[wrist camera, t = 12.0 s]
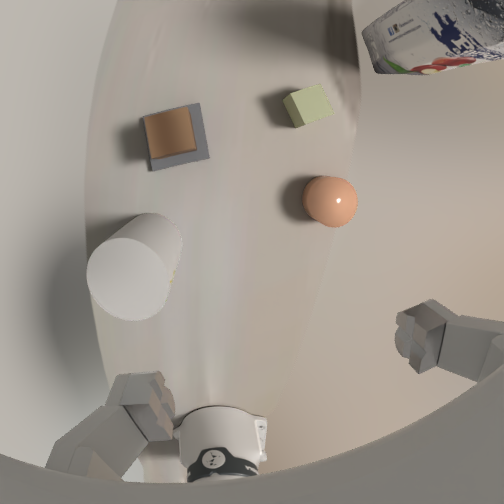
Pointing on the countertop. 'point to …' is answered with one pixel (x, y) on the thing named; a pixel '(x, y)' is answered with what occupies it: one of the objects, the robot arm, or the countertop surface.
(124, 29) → the countertop surface
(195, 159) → the slate coaster
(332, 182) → the peach glossy ball
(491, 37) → the juice carton
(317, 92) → the olive block
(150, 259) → the cup
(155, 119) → the walnut block
